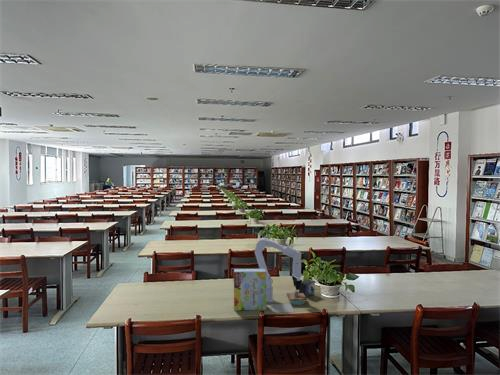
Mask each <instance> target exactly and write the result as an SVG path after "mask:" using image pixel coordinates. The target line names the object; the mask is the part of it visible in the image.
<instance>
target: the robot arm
mask: <svg viewBox="0 0 500 375" xmlns="http://www.w3.org/2000/svg"><path fill="white" fill-rule="evenodd" d="M255 245H256V246H255V248H254V255H255V259H256V261H257V264H258V265H257V266H258V269H266V303H274V297H273V295H274V294H273V292H274V288H273V287H274V286H272V284H274V283H273V282H274V280H273V278H272V277H271V274H269V271H268V270H269V269H268V267H267V265H266V261H265V258H264V254H263V251H264V249H265V248H274V249H276V250H278V251H280V252H281V253H282V254H283V255H285V256H288V257H290V258H292V259H293V261H292V274H291V278H292V281H293V282H292V283H293V287H295V288H294V289H295V291H299V288H300V284H301V282H302V281H303V279H301V277H303V274H302V252H301V251H299V250H296V249H294V248H292V247H291V246H289V245H286V246H285V245H284V246H283V245H281V244H279V243H277V242H275V241H274V240H271V239H270V238H267V237H261V238H260V239H259V240H258V241H257V243H256V244H255Z"/></svg>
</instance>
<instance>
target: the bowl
mask: <svg viewBox="0 0 500 375" xmlns="http://www.w3.org/2000/svg"><path fill="white" fill-rule="evenodd" d="M305 301H306V300H289V299H288V302H289V304H291V305H294V306H302V305H304V304H305V303H306V302H305Z"/></svg>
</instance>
